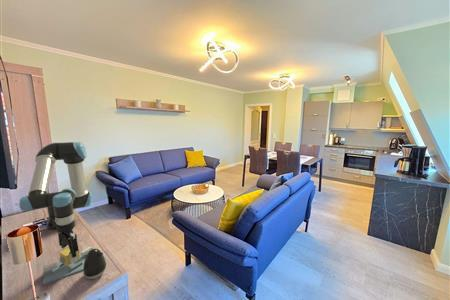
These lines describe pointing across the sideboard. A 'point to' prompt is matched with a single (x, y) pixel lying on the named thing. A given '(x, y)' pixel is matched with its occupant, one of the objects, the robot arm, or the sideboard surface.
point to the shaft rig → (64, 268)
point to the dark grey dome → (94, 264)
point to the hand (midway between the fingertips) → (70, 259)
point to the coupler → (67, 256)
